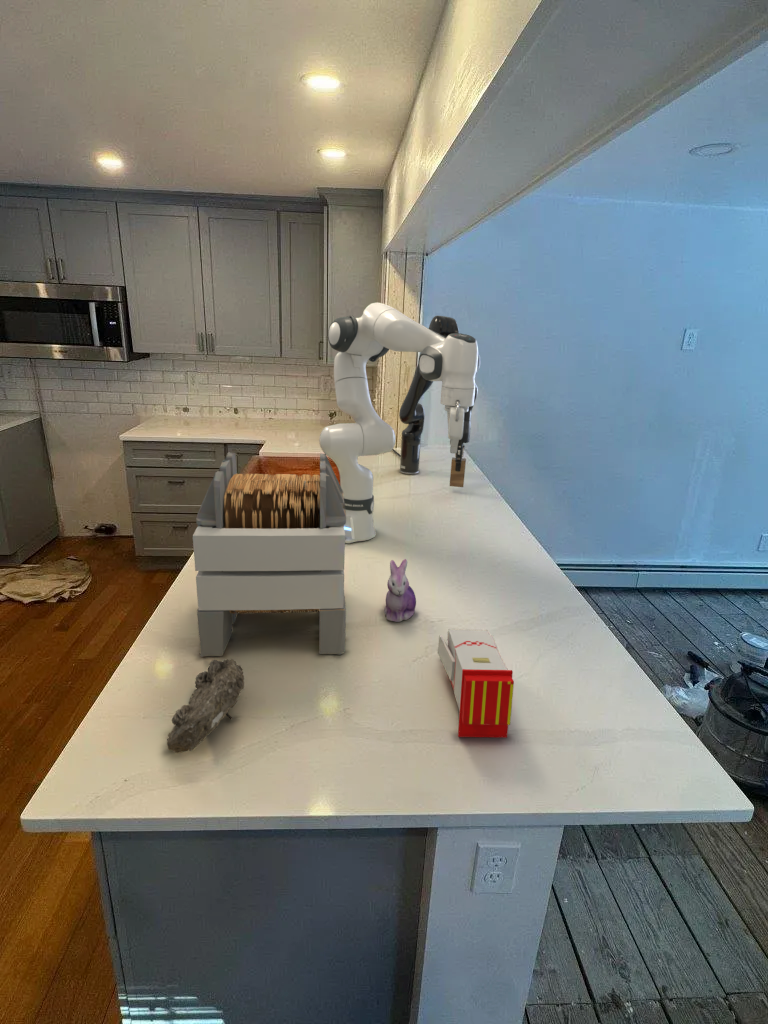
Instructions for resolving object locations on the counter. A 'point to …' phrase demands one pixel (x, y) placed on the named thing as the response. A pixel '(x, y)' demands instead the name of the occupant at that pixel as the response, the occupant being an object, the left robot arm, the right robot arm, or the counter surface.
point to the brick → (457, 473)
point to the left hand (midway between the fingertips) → (453, 448)
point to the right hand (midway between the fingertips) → (458, 469)
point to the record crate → (270, 552)
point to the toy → (478, 682)
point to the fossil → (206, 705)
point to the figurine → (399, 594)
